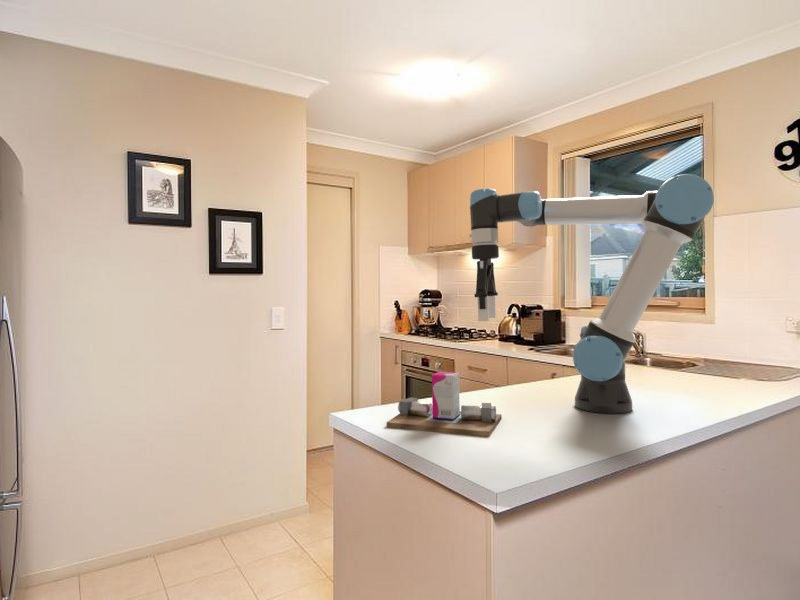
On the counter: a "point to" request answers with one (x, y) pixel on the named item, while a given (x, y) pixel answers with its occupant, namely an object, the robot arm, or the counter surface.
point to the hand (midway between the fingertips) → (487, 319)
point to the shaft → (414, 408)
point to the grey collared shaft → (479, 413)
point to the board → (445, 425)
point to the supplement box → (445, 396)
